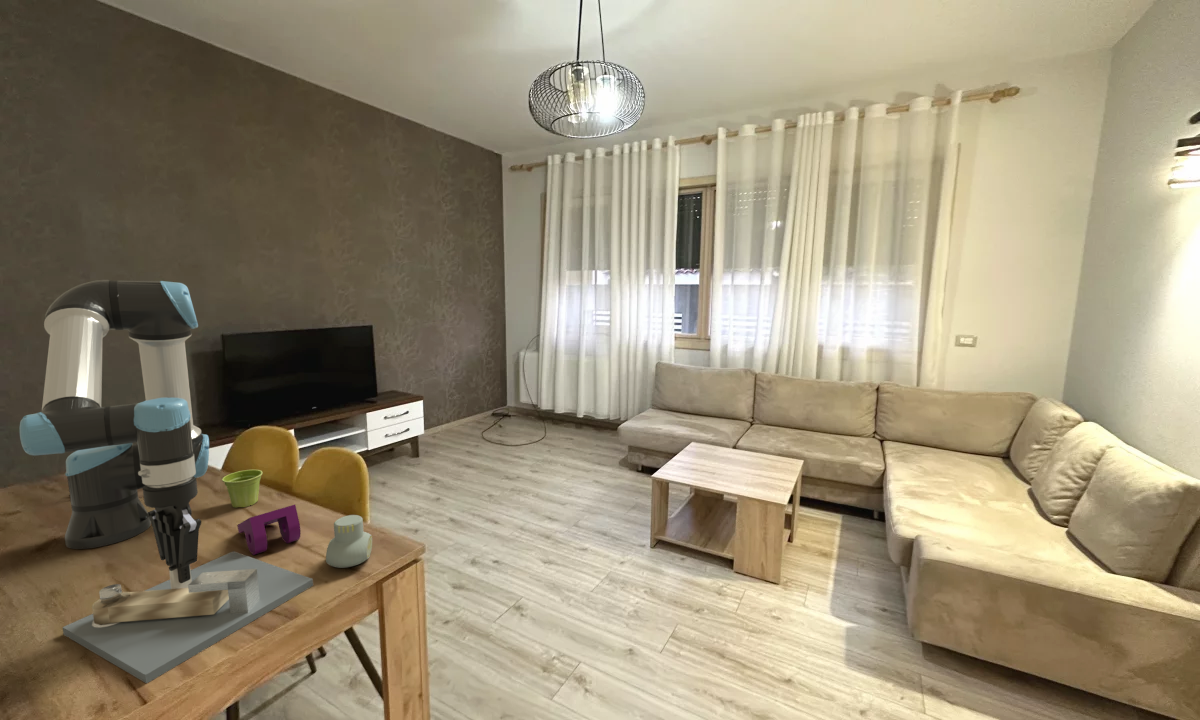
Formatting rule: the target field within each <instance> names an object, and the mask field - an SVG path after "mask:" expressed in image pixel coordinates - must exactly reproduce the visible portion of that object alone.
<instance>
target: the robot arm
mask: <svg viewBox="0 0 1200 720" xmlns="http://www.w3.org/2000/svg"><path fill="white" fill-rule="evenodd" d="M197 319H198V318H197V316H196V312H195V309H194V305H193V302H192V298H191V294H190V290H189V288H188V286H187V285H186V284H184V283H183V282H175V281H174V282H173V281H164V280H110V279H101V280H99V279H98V280H92V281H89V282H84V283H80V284H78V285H76V286H74V287H71V288H70V289H69V290H68V289H67V290H66V291H65V292H63V293H62V294H61V295H59V296H58V297H57V298H56V299H54V301H52V303H51V304H50V305H49V306H48V309H47V310H46V313H45V315H44V322H43V325H44V326H43V327H44V330H45V332H46V333H47V334H48V335H49V342H48V343H49V344H48V353H47V360H46V361H47V362H46V369H45V376H44V379H45V380H44V388H43V396H42V397H43V398H42V404H41V405H42V407H41V411H40V412H36V413H33V414H32V413H31V414H27V415H24V416H23V417H22V419H21V420H20V422H19V440H20V443H21V446H22V449H23V451H24V452H25V453H26V454H27V455H29V456H43V455H44V456H46V455H54V454H65V453H69V452H71V454H69V455H68V456H67V458H66V460H65V470H66V471H65V473H64V474H65V476H66V478H67V484H68V492H69V498H70V505H71V516H70V519H69V521H68V525H67V528H66V532H65V534H64V541H65V546H66V548H69V549H74V550H83V549H84V550H85V549H93V548H100V547H104V546H109V545H112V544H116V543H120V542H123V541H126V540H129V539H131V538H133V537H136V536H138V535H139V534H140V535H141V534H142V533H143V532H145V531H146V530H148V529H149V528H150V527H151V526H152V530H153V534H154V538H155V541H156V546H157V550H158V554H159V559H160V560H161V561H165V564H166V565H167V566H168V572H169V580H170V583H171V589H179V588H188V585H189V584H190V583H191V582H192V580H191V570H192V569H191V564H194V563H196V562H198V551H199V550H198V549H199V548H198V547H199V533H200V527H201V525H202V520H201V519H200V518H196V519H194V518H193V517H192V512H193V511H192V508H191V506H190V502H191V501H192V500H193V499H194V498H196V497H197V495H198V492H199V491H198V483H197V478H201V477H203V476H204V475H205V474H206V472H208V467H209V458H210V457H209V456H210V438H209V435H208V434H207V433H206V434H204V433H202V429H201V428H200V427H198V426H196V425H194V419H193V410H192V409H193V408H192V401H191V400H192V399H191V390H190V379H189V371H188V360H187V352H186V351H187V350H186V341H187V340H188V339H189V338H190V337H192V335H193V333H192V330H195V329H197V328H198V327H199V324H198V320H197ZM109 331H127V333H128V338H129V339H130V340H133V342H135V343H137V344H138V350H139V357H140V365H141V366H140V367H141V373H142V381H143V390H144V396H145V400H144V401H141V402H138V403H130V404H129V403H128V404H120V405H108V406H102V388H103V385H102V383H103V380H102V379H103V340H104V339H103V338H104V337H106V336H107V334H108V333H109ZM134 443H135V444H134ZM142 488H143V495H144V497H143V501H144V504H143V503H142V501H141V500H140V498H138V492H137V489H142ZM145 506H146V507H148V508H152V509H153V510H150V511H147V509H146V508H145Z"/></svg>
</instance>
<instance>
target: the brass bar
mask: <svg viewBox="0 0 1200 720" xmlns="http://www.w3.org/2000/svg"><path fill="white" fill-rule="evenodd" d="M228 600H229V596H228V590H217V591H204V592H191V593H189V590H188V588H179V589H166V590H152V591H145V590H140V591H122V597H121V598H120V599H118V600H116V601H113V602H110V603H105V604H103V603H101V602H100V598H99V599H97V600H96V601H94V603H92V606H91V609H92V610H91V611H92V614H93V617H94V623H95V624H107V623H114V622H126V621H139V620H151V619H163V618H176V617H188V616H200V615H213V614H215V613H216V612H217V611H218V610H219V609H220V608H221V607H222V606H223V605H224V604H225V603H226V602H227V601H228Z"/></svg>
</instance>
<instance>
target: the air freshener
mask: <svg viewBox="0 0 1200 720" xmlns="http://www.w3.org/2000/svg"><path fill="white" fill-rule="evenodd" d="M363 519H364V518H363V517H362V516H360V515H358V514H349V515H345V516H342V517H340V518H338V519H336V520H335V522H334V523H333V532H334V533H333V535H334V537H333V538H331V539H330V541H329V543H328V545H327V547H326V552H325V562H326V564H328V565H329V566H331V567H333V568H340V569H341V568H342V569H345V568H351V567H355V566H358V565H360V564H362V563H364V562H365V561H367V560H368V559H369V558H370V557H371V553H372V548H373V535H372V534H370V533H369V532H368V531H367V532H366V531H364V520H363Z"/></svg>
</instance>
